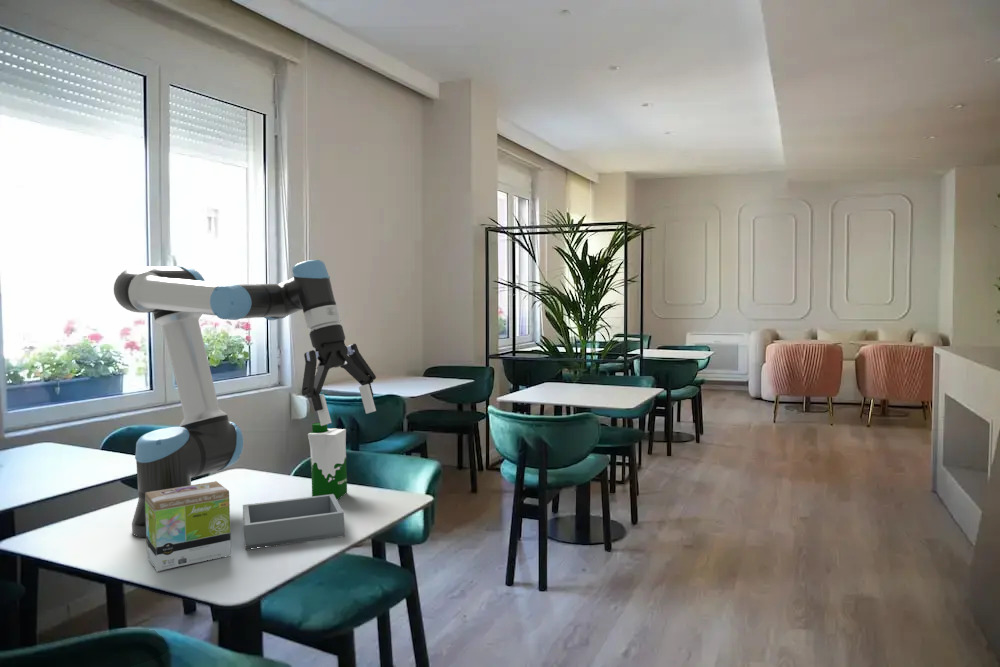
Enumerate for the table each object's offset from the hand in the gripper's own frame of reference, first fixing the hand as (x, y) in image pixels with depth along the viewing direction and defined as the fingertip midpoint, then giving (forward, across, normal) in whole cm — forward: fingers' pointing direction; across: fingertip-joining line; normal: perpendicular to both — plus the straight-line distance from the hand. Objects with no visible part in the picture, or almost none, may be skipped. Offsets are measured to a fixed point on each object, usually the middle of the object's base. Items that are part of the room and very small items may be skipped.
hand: (349, 418), depth 166 cm
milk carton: (+19, +19, +37) cm, 46 cm away
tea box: (+20, -28, +28) cm, 44 cm away
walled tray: (+22, -6, +22) cm, 32 cm away
